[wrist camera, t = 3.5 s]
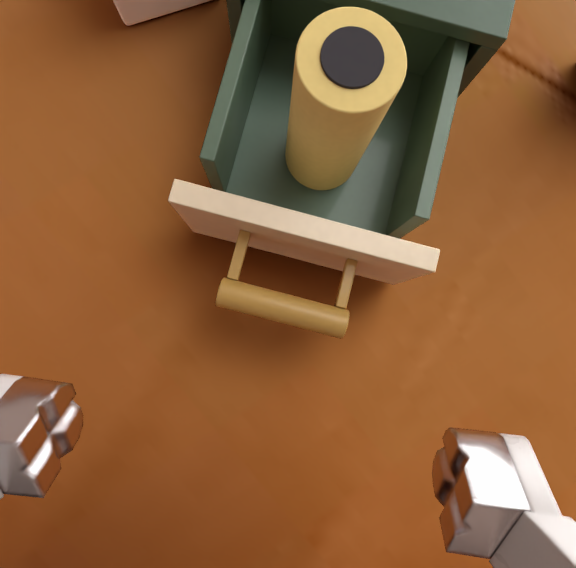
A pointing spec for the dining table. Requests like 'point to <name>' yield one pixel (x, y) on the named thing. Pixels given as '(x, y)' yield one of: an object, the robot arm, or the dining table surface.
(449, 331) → the dining table surface
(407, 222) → the drawer
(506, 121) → the dining table surface
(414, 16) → the cabinet
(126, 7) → the medicine bottle
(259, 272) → the dining table surface
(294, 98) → the roller
